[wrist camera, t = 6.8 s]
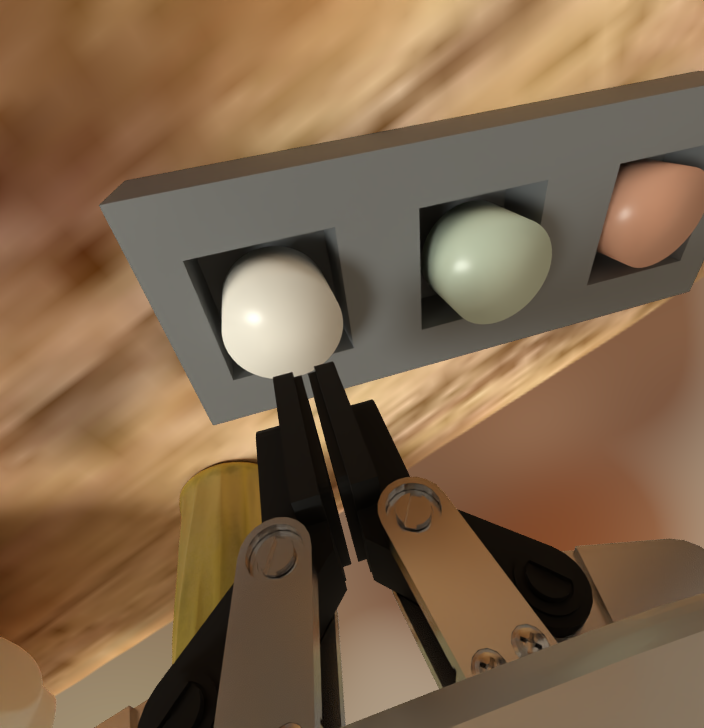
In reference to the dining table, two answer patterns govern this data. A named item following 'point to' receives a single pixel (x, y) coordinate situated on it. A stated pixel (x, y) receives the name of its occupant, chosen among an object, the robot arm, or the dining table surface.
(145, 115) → the dining table surface
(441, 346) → the button panel
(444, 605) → the robot arm
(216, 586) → the vase
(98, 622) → the dining table surface
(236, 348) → the cream rounded piece
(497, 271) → the sage button
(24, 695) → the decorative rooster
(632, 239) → the terracotta button
